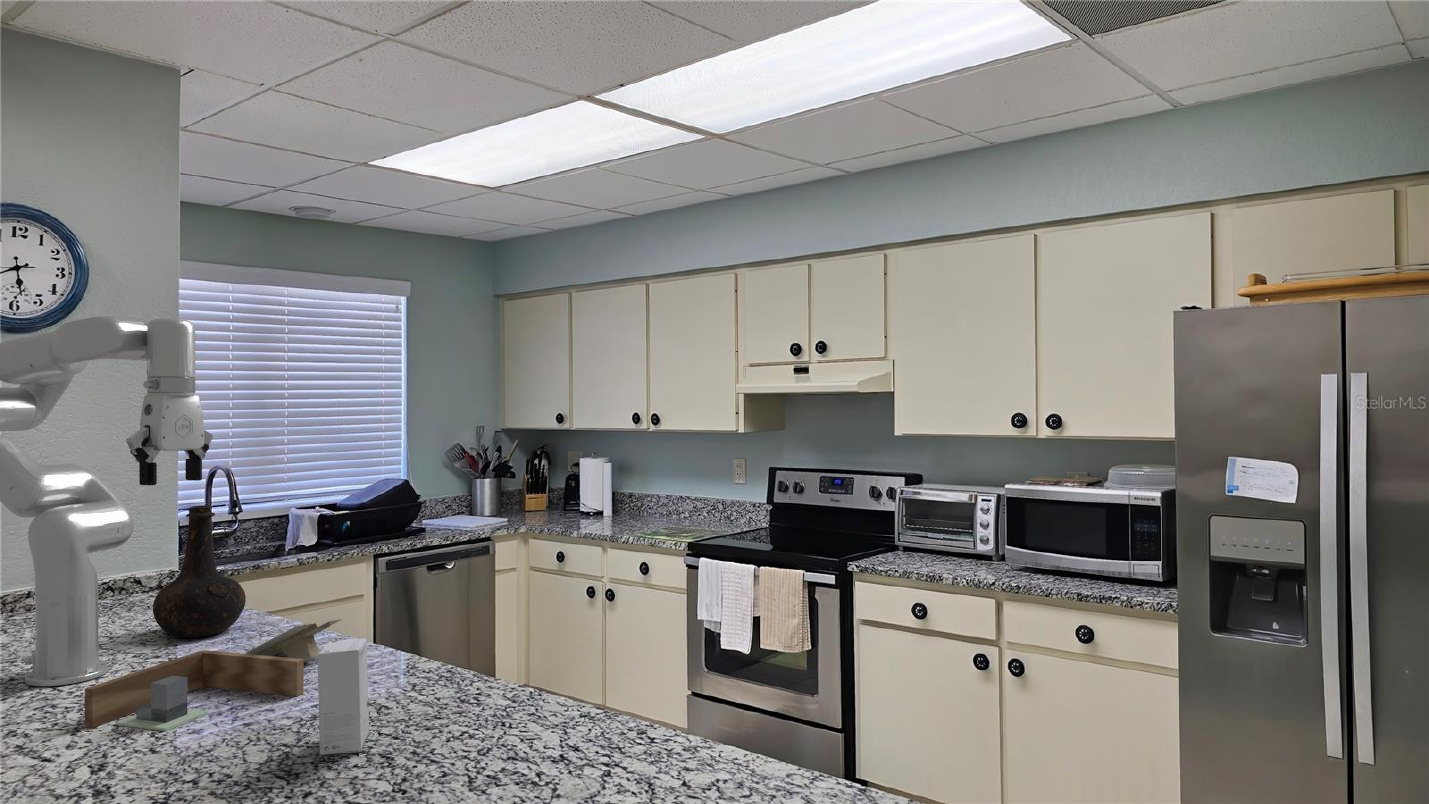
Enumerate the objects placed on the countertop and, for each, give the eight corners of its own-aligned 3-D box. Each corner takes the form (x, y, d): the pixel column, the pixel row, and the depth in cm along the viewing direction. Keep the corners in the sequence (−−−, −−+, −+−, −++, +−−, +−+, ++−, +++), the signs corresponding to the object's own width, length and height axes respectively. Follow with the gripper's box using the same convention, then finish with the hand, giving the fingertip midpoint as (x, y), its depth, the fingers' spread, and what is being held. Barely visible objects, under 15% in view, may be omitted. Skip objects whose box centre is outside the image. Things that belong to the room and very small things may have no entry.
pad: (115, 724, 143) (115, 722, 143) (159, 708, 150) (159, 705, 150) (166, 731, 140) (166, 728, 140) (207, 713, 148) (207, 711, 148)
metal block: (166, 722, 143) (166, 684, 143) (136, 719, 144) (136, 681, 144) (187, 714, 146) (187, 677, 146) (157, 710, 148) (157, 674, 148)
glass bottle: (180, 648, 187) (179, 512, 186) (135, 636, 196) (135, 507, 196) (262, 630, 202) (262, 504, 202) (217, 619, 211) (217, 499, 211)
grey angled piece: (248, 700, 167) (309, 647, 166) (224, 662, 169) (284, 610, 168) (303, 686, 183) (358, 638, 182) (280, 652, 185) (335, 604, 184)
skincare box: (361, 753, 131) (361, 650, 131) (316, 756, 130) (316, 653, 130) (369, 732, 140) (369, 636, 140) (327, 735, 138) (327, 638, 138)
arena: (84, 726, 142) (84, 688, 142) (203, 683, 164) (203, 650, 164) (196, 741, 136) (196, 701, 136) (303, 693, 158) (303, 659, 158)
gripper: (145, 387, 154) (146, 487, 154) (226, 388, 171) (226, 479, 171) (111, 387, 156) (111, 486, 156) (194, 388, 173) (194, 478, 173)
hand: (171, 482), depth 163 cm, fingers open, 9 cm apart
